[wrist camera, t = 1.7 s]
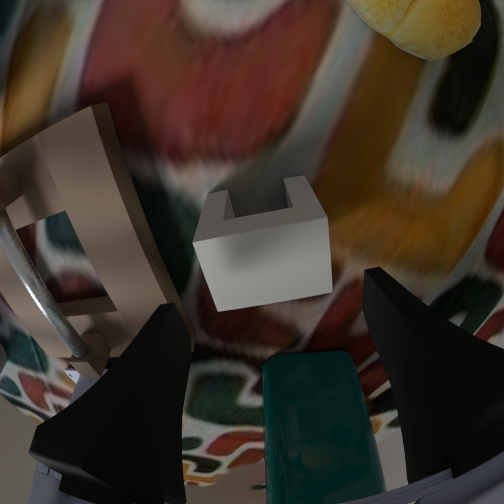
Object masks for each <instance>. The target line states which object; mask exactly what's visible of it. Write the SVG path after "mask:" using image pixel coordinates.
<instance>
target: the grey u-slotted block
mask: <svg viewBox="0 0 504 504" xmlns="http://www.w3.org/2000/svg"><path fill="white" fill-rule="evenodd" d="M284 185H285V191H286V197H287V203H288V208H286V209H281V210H275V211H270V212H264V213H259V214H254V215H248V216H243V217H238V218H235V215H234V211H233V207H232V204H231V200H230V196H229V192H228V189H227V190H222V191H218V192H213V193H209V194H207V197H206V200H205V204H204V207H203V210H202V213H201V216H200V219H199V223H198V226H197V229H196V232H195V236H194V239H193V245H194V248H195V251H196V254H197V257H198V259H199V262H200V265H201V268H202V270H203V273H204V276H205V279H206V281H207V284H208V287H209V289H210V292H211V295H212V297H213V300H214V303H215V305H216V308H217V311H218V312H219V311H226V310H233V309H239V308H246V307H252V306H258V305H264V304H270V303H276V302H282V301H288V300H294V299H299V298H305V297H310V296H315V295H321V294H326V293H331V292H332V272H331V255H330V241H329V228H328V217H327V215H326V214H325V212H324V210H323V208H322V206H321V204H320V202H319V201H318V199H317V197H316V195H315V193H314V192H313V190H312V188H311V186H310V185H309V183H308V181H307V179H306V178H305V176H304V175H302V176H296V177H290V178H284Z"/></svg>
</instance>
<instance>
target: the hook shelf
mask: <svg viewBox="0 0 504 504" xmlns="http://www.w3.org/2000/svg"><path fill="white" fill-rule="evenodd" d="M5 208H6V210H7V213H8V215H9V217H10V219H11V221H12V224H13V226H14V228H15V230H16V229H19V228H21V227H24V226H26V225H29V224H31V223H34V222H36V221H39V220H41V219H44V218H46V217H49V216H52V215H54V214H57V213H60V212H62V211H65V210H66V212H67V214H68V216H69V219H70V221H71V223H72V225H73V227H74V230H75V232H76V234H77V236H78V238H79V240H80V242H81V244H82V246H83V248H84V250H85V252H86V254H87V256H88V258H89V260H90V262H91V264H92V266H93V268H94V270H95V271H96V273H97V275H98V277H99V279H100V281H101V282H102V284H103V286H104V288H105V289H106V291H107V293H108V295H109V296H103V297H96V298H89V299H82V300H75V301H68V302H61V303H57V304H58V305H59V307H60V308H61V310H62V311H63V313H64V314H65V316H66V317H67V318H68V320H69V321H70V323H71V324H72V325H73V327H74V328H75V330H76V331H77V332H78V334H79V335H80V336H81V338H82V339H83V340H84V342H85V343H86V344H87V346H88V347H89V353H88V354H87V355H86V356H85V357H84V358H82V359H77V358H76V357H75V356H74V355H73V354H72V352H71V351H70V350H69V349H68V347H67V346H66V345H65V344H64V342H63V341H62V340H61V339H60V337H59V336H58V335H57V333H56V332H55V331H54V329H53V328H52V327H51V325H50V324H49V323H48V321H47V320H46V318H45V317H44V316H43V314H42V313H41V311H40V310H39V308H38V307H37V306H36V304H35V303H34V301H33V300H32V298H31V296H30V295H29V293H28V292H27V290H26V289H25V287H24V285H23V284H22V282H21V281H20V279H19V277H18V276H17V274H16V272H15V270H14V269H13V267H12V265H11V263H10V262H9V260H8V258H7V256H6V254H5V253H4V251H3V249H2V247H1V245H0V291H1V293H2V295H3V296H4V298H5V299H6V301H7V302H8V304H9V305H10V307H11V308H12V310H13V311H14V312H15V314H16V315H17V317H18V318H19V319H20V321H21V322H22V323H23V325H24V326H25V327H26V329H27V330H28V331H29V333H30V334H31V335H32V337H33V338H34V339H35V340H36V342H37V343H38V344H39V345H40V347H41V348H42V349H43V350H44V351H45V353H46V354H47V355H48V356H49V357H71V358H70V361H69V363H70V364H71V365H72V366H73V367H74V368H75V369H76V371H77V372H78V373H79V374H80V375H81V376H82V377H84V378H101V377H102V375H103V372H104V369H105V366H106V364H107V361H108V358H109V357H120V355H121V354H122V353H123V352H124V350H125V349H126V348H127V347H128V346H129V344H130V343H131V342H132V340H133V339H134V338H135V336H136V335H137V334H138V332H139V331H140V330H141V328H142V327H143V326H144V324H145V323H146V322H147V320H148V319H149V318H150V316H151V315H152V314H153V312H154V311H155V310H156V309H157V307H158V306H159V305H160V304H165V303H173V302H174V303H175V305H176V307H177V309H178V311H179V313H180V315H181V317H182V320H183V322H184V324H185V325H186V327H187V329H188V331H189V333H190V335H191V337H192V341H191V352H193V351H194V344H195V338H196V332H195V330H194V327H193V325H192V323H191V321H190V319H189V317H188V315H187V313H186V311H185V309H184V306H183V304H182V302H181V300H180V298H179V296H178V293H177V291H176V289H175V287H174V285H173V282H172V280H171V278H170V275H169V273H168V271H167V269H166V266H165V264H164V262H163V259H162V257H161V254H160V252H159V250H158V247H157V245H156V242H155V240H154V237H153V235H152V232H151V230H150V227H149V225H148V222H147V220H146V217H145V214H144V212H143V209H142V207H141V204H140V201H139V198H138V196H137V193H136V190H135V187H134V185H133V182H132V179H131V176H130V173H129V170H128V167H127V164H126V161H125V158H124V155H123V152H122V149H121V146H120V143H119V140H118V137H117V133H116V130H115V127H114V124H113V120H112V117H111V113H110V110H109V106H108V103H107V102H104V103H100V104H96V105H92V106H89V107H87V108H85V109H83V110H81V111H79V112H77V113H75V114H73V115H71V116H69V117H67V118H65V119H63V120H61V121H59V122H57V123H56V124H54V125H52V126H50V127H48V128H47V129H45V130H43V131H41V132H40V133H38V134H36V135H35V136H33V137H31V138H30V139H28V140H26V141H25V142H23V143H22V144H20V145H18V146H17V147H15V148H14V149H12V150H11V151H9V152H8V153H6V154H5V155H3V156H2V157H1V158H0V212H1V211H2V210H4V209H5Z"/></svg>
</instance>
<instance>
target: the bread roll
mask: <svg viewBox="0 0 504 504" xmlns="http://www.w3.org/2000/svg"><path fill="white" fill-rule="evenodd" d="M347 2H348V3H349V5H350V6H351V8H352V9H353V10H354V11H355V12H356V13H357V15H358V16H359V17H360V18H361V19H362V20H363V21H364V22H365V23H366V24H367V25H368V26H369V27H371V28H372V29H373V30H375V31H376V32H378V33H379V34H381V35H383V36H384V37H386V38H387V39H389V40H390V41H391V42H392V43H393V44H394V45H395V46H397V47H398V48H399V49H401V50H403V51H405V52H407V53H409V54H411V55H413V56H415V57H418V58H422V59H425V60H428V61H436V60H440V59H442V58H444V57H447V56H449V55H450V54H453V53H455V52H457V51H458V50H460V49H461V48H463V47H465V46H466V45H467V44H469V43H471V42H472V39H473V36H475V34H476V33H477V31H478V29H479V27H480V25H481V22H480V20H481V8H480V3H479V1H478V0H347Z"/></svg>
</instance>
